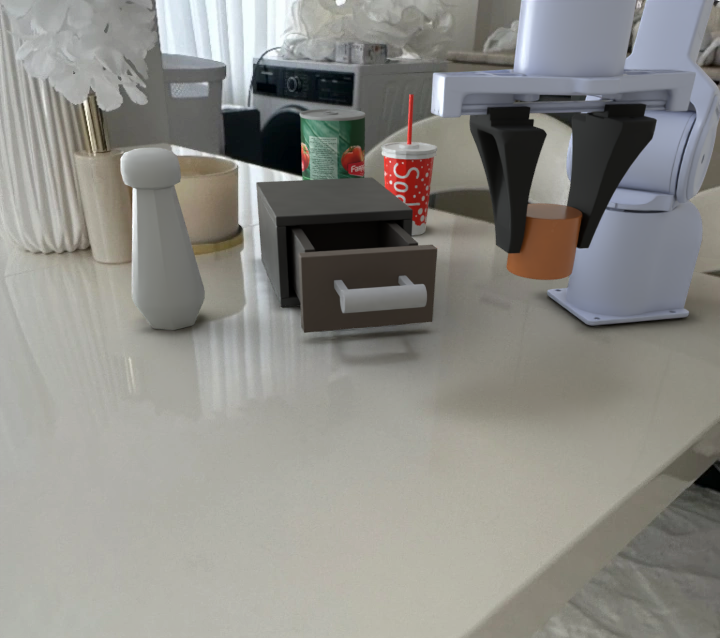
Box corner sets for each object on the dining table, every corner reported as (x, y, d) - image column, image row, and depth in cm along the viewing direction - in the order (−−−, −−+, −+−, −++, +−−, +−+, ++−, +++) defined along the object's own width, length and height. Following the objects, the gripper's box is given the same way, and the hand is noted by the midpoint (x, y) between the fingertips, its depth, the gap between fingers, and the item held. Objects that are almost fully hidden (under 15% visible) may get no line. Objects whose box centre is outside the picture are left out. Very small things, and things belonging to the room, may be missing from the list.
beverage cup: (369, 232, 82) (371, 94, 74) (395, 221, 86) (400, 90, 79) (416, 240, 79) (423, 98, 72) (440, 228, 84) (450, 93, 76)
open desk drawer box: (409, 297, 64) (413, 209, 60) (280, 307, 62) (275, 216, 57) (371, 254, 75) (372, 177, 71) (261, 261, 73) (256, 181, 68)
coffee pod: (553, 258, 46) (562, 201, 44) (584, 277, 43) (595, 217, 41) (496, 262, 45) (502, 204, 43) (522, 282, 42) (531, 221, 40)
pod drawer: (452, 344, 53) (458, 267, 50) (315, 357, 51) (312, 277, 48) (390, 273, 67) (392, 209, 64) (280, 281, 65) (276, 215, 62)
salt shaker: (191, 337, 56) (167, 158, 49) (124, 331, 57) (91, 155, 50) (218, 311, 61) (200, 145, 54) (155, 305, 62) (129, 142, 55)
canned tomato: (370, 215, 89) (371, 116, 83) (307, 217, 87) (304, 117, 81) (358, 200, 95) (358, 108, 89) (299, 202, 94) (296, 109, 88)
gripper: (476, -35, 31) (451, 275, 39) (761, -29, 34) (686, 257, 41) (425, -30, 37) (412, 239, 44) (673, -25, 40) (621, 226, 47)
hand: (541, 246), depth 43 cm, fingers closed on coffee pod, 4 cm apart
